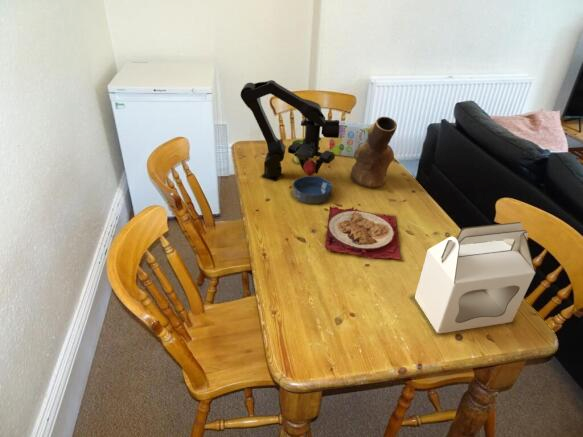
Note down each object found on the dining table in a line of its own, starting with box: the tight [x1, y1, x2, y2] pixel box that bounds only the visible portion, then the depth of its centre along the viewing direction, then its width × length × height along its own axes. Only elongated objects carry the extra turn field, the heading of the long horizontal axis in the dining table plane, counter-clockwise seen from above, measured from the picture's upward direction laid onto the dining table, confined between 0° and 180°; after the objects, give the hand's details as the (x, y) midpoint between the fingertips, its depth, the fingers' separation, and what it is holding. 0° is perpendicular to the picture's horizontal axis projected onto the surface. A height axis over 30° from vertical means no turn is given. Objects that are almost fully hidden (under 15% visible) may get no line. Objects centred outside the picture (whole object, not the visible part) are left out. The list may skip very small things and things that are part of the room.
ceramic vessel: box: [350, 116, 398, 189], centre depth 161 cm, size 16×22×30 cm
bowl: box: [292, 175, 333, 205], centre depth 160 cm, size 15×15×4 cm
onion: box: [302, 158, 316, 176], centre depth 169 cm, size 6×6×8 cm
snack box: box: [328, 120, 373, 158], centre depth 188 cm, size 21×6×15 cm, turn 77°
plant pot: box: [290, 138, 304, 165], centre depth 182 cm, size 9×9×9 cm
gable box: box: [414, 221, 536, 334], centre depth 104 cm, size 22×13×28 cm, turn 102°
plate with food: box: [324, 202, 401, 260], centre depth 139 cm, size 24×26×4 cm
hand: (309, 171), depth 170 cm, fingers closed on onion, 6 cm apart
